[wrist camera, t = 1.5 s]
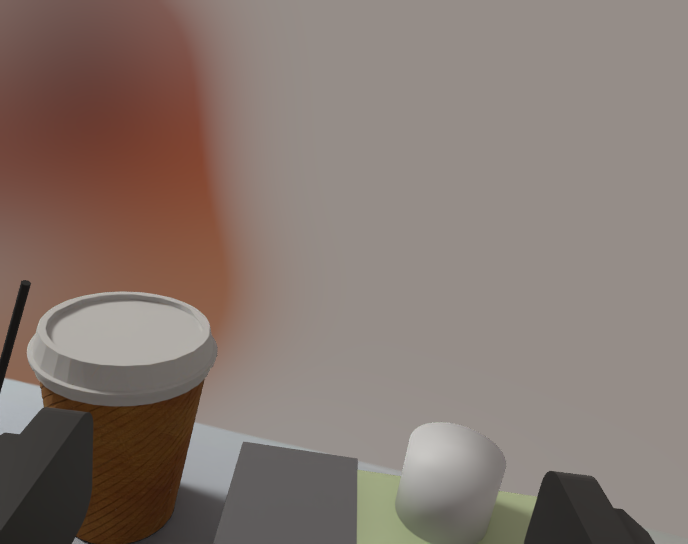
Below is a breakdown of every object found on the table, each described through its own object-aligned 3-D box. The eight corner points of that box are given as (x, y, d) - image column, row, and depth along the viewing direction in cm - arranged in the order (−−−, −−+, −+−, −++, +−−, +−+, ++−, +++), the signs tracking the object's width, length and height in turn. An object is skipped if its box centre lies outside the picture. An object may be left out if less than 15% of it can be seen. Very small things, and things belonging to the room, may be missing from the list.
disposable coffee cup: (184, 578, 33) (202, 382, 29) (-2, 560, 32) (-11, 356, 28) (214, 463, 42) (230, 300, 38) (68, 447, 41) (69, 279, 37)
